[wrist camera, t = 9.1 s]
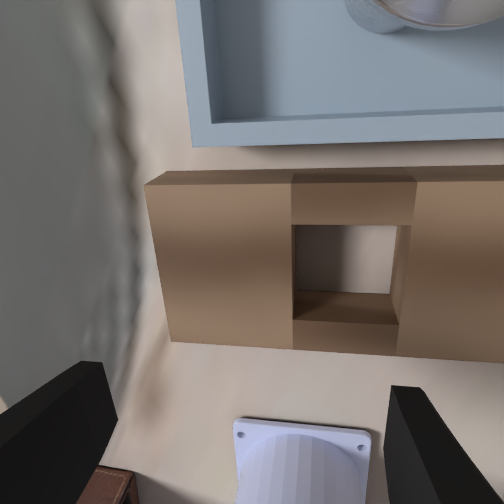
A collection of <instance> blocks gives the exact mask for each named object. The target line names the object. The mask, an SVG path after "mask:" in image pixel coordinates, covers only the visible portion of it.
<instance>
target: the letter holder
mask: <svg viewBox="0 0 504 504" xmlns="http://www.w3.org/2000/svg"><path fill="white" fill-rule="evenodd" d="M76 504H139V500H138V493H137V487H136V481H135V477H134V473H133V472H132V471H124V470H119V469H114V468H109V467H103V466H97V468H96V469H95V471H94V473H93V475H92V476H91V478H90V480H89V482H88V483H87V485H86V487H85V489H84V491H83V492H82V494H81V496H80V497H79V499H78V501H77V503H76Z"/></svg>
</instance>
